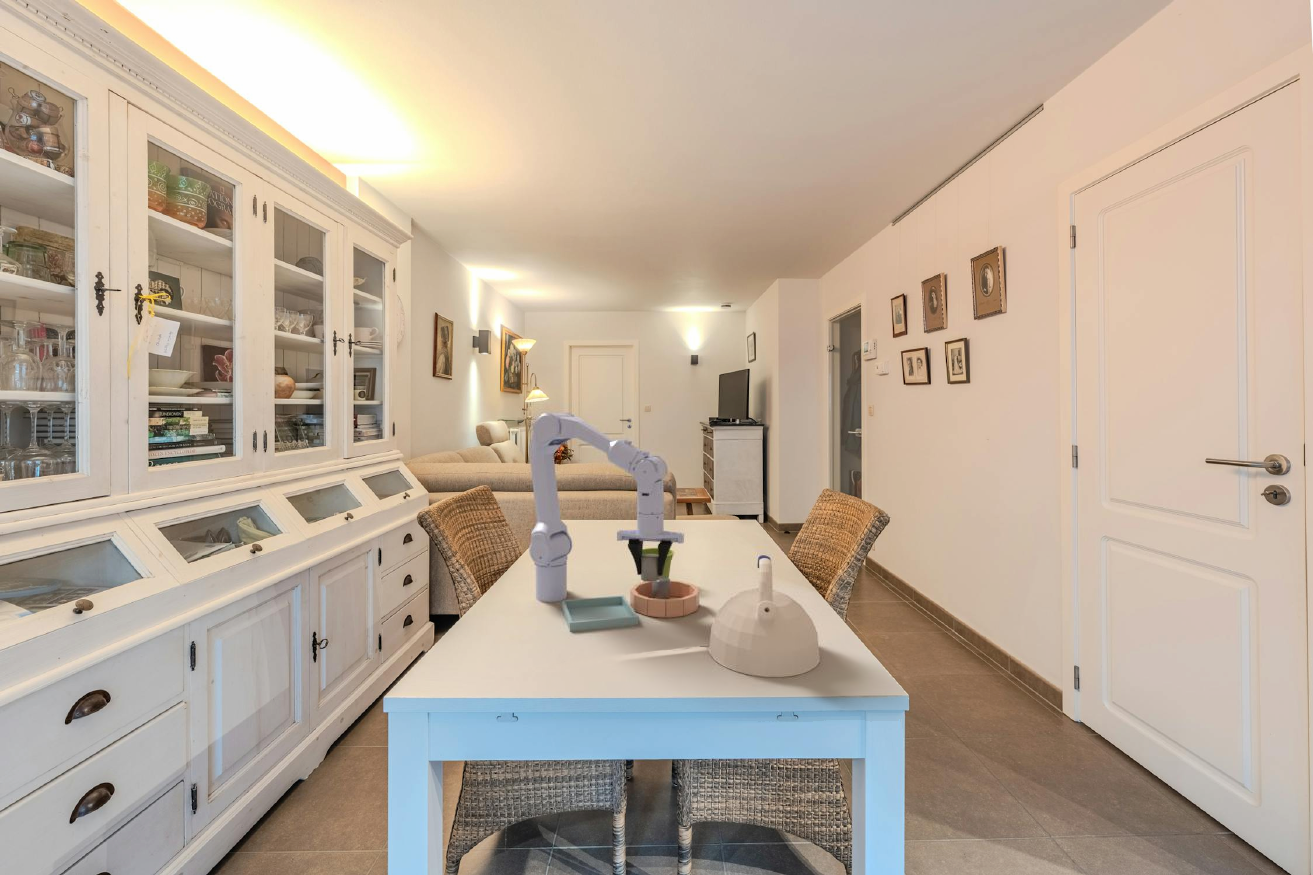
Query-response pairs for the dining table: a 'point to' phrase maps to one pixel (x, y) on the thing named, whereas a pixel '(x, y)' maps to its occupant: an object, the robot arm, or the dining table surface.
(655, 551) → the plant pot
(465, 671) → the dining table surface
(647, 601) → the terracotta bowl
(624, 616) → the parts tray
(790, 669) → the kettle
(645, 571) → the slate pebble
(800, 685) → the dining table surface
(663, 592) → the charcoal pebble
